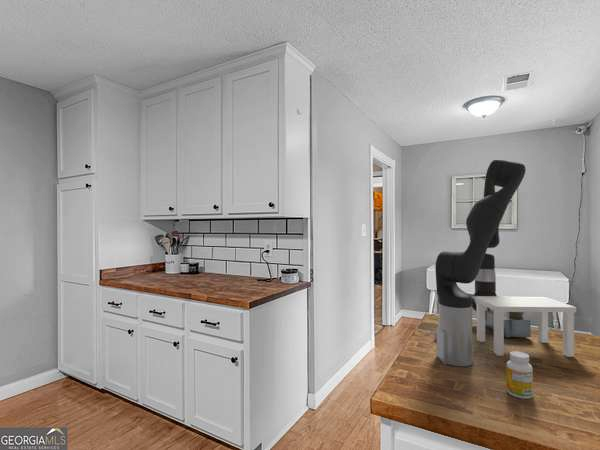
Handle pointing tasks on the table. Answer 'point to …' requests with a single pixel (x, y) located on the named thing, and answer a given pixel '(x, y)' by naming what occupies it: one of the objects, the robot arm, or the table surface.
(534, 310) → the low table
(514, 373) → the supplement bottle
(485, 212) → the robot arm
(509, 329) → the steel crook
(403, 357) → the table surface
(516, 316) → the cork
